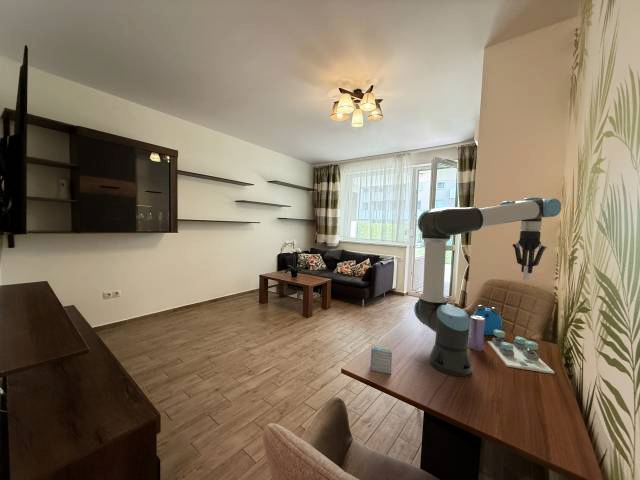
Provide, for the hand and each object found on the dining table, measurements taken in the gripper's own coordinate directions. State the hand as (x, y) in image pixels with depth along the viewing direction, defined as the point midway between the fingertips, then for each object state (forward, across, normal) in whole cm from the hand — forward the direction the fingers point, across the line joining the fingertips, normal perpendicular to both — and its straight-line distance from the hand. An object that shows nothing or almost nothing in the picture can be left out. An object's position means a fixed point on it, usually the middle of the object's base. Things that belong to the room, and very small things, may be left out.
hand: (525, 279), depth 122 cm
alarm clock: (+33, +15, +2) cm, 36 cm away
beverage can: (+33, +8, +25) cm, 42 cm away
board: (+32, -5, +15) cm, 36 cm away
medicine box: (+33, +15, +77) cm, 85 cm away
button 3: (+29, +4, +12) cm, 32 cm away
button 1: (+31, -3, +19) cm, 36 cm away
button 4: (+31, -3, +6) cm, 32 cm away
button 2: (+29, -9, +12) cm, 33 cm away
